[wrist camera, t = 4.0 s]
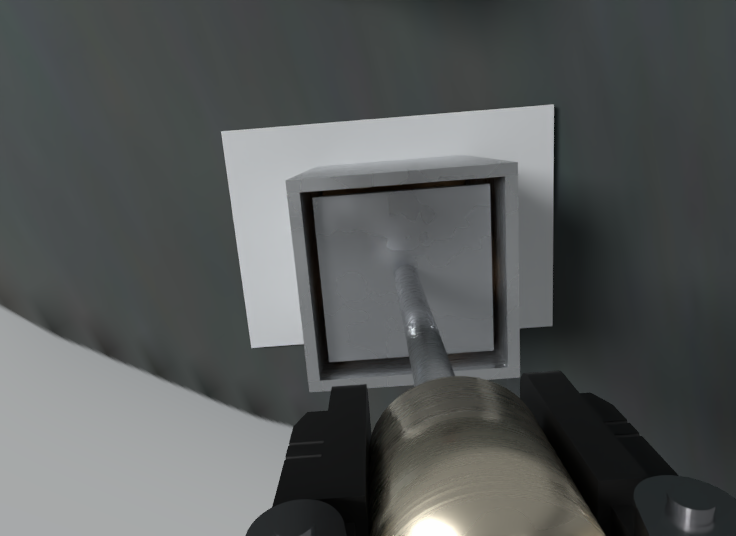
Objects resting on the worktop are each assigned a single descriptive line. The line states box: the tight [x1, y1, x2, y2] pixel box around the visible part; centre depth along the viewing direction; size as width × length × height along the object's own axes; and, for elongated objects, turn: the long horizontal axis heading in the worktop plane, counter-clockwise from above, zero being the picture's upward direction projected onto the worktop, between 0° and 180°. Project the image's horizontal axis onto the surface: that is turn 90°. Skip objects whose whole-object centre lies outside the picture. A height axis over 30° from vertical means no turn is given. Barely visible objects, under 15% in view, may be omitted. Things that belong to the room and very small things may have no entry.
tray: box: [221, 105, 554, 348], centre depth 33 cm, size 20×14×1 cm
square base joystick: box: [285, 155, 520, 392], centre depth 27 cm, size 9×9×12 cm
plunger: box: [312, 183, 606, 536], centre depth 15 cm, size 7×7×17 cm
